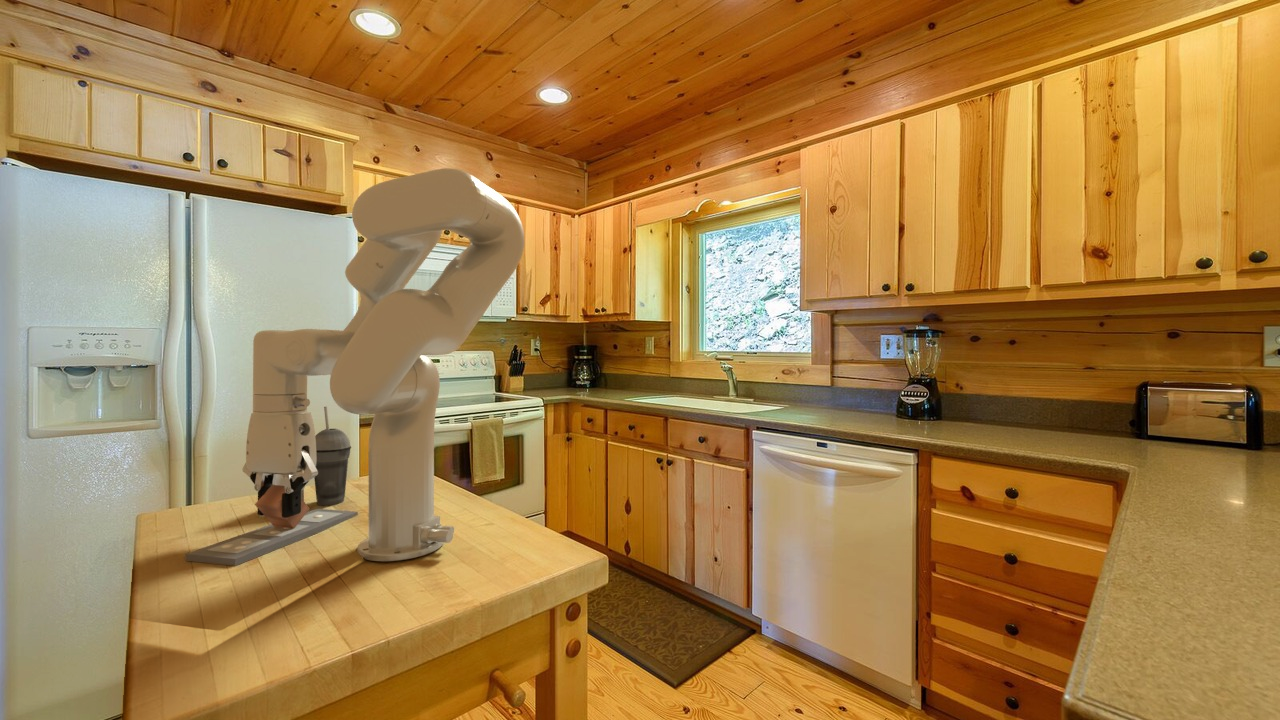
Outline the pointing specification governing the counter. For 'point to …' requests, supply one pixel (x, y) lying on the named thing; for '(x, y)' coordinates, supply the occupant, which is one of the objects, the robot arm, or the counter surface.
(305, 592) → the counter surface
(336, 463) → the beverage cup
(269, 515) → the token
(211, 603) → the counter surface
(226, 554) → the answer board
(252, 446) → the robot arm
